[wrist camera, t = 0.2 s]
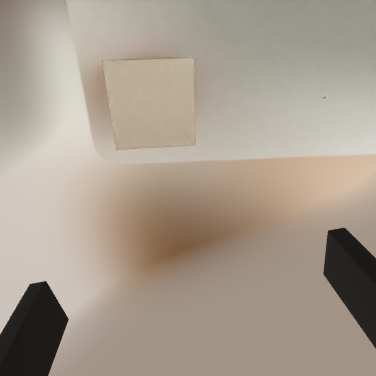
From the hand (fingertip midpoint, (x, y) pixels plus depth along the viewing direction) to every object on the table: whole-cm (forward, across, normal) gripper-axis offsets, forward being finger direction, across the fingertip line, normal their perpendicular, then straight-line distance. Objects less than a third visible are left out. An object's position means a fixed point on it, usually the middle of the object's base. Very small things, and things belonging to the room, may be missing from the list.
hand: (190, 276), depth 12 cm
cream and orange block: (+20, +1, -6) cm, 21 cm away
